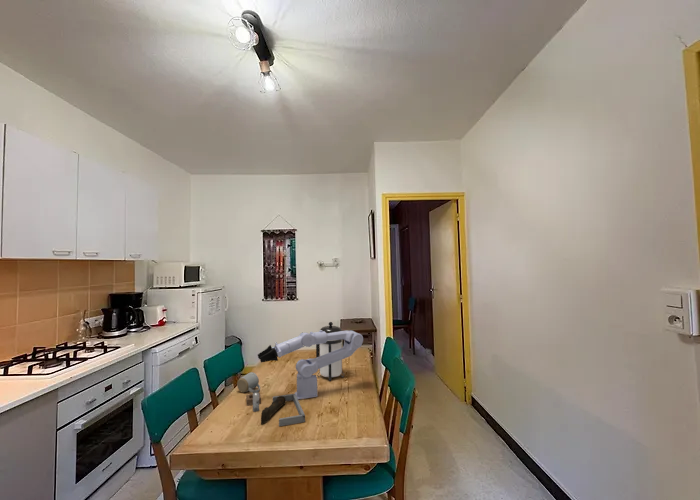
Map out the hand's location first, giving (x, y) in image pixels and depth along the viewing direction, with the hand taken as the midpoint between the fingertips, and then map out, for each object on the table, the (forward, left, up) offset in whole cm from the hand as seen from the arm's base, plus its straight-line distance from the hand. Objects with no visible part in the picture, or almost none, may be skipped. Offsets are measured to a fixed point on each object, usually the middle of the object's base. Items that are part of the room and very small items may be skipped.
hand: (259, 358), depth 143 cm
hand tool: (-5, +12, -20) cm, 24 cm away
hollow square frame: (+2, -3, -20) cm, 20 cm away
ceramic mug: (+3, -17, -20) cm, 27 cm away
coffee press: (-39, -23, -20) cm, 49 cm away
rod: (+2, +6, -20) cm, 21 cm away
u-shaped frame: (-11, +12, -20) cm, 26 cm away
